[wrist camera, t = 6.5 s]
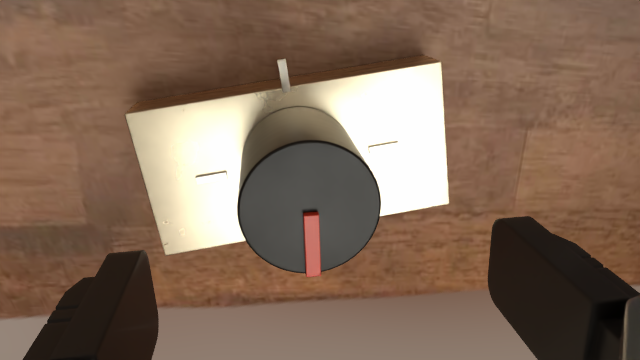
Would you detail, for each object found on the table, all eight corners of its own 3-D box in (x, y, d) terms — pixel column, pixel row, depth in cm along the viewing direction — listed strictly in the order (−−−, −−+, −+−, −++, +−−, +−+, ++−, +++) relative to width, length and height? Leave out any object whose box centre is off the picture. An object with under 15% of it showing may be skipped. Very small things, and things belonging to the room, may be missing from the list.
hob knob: (236, 109, 22) (229, 147, 17) (354, 103, 23) (384, 138, 17) (246, 218, 24) (243, 284, 19) (354, 210, 25) (382, 271, 19)
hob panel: (178, 253, 27) (170, 279, 25) (129, 76, 24) (115, 86, 21) (435, 206, 28) (452, 227, 25) (422, 29, 24) (441, 33, 22)
